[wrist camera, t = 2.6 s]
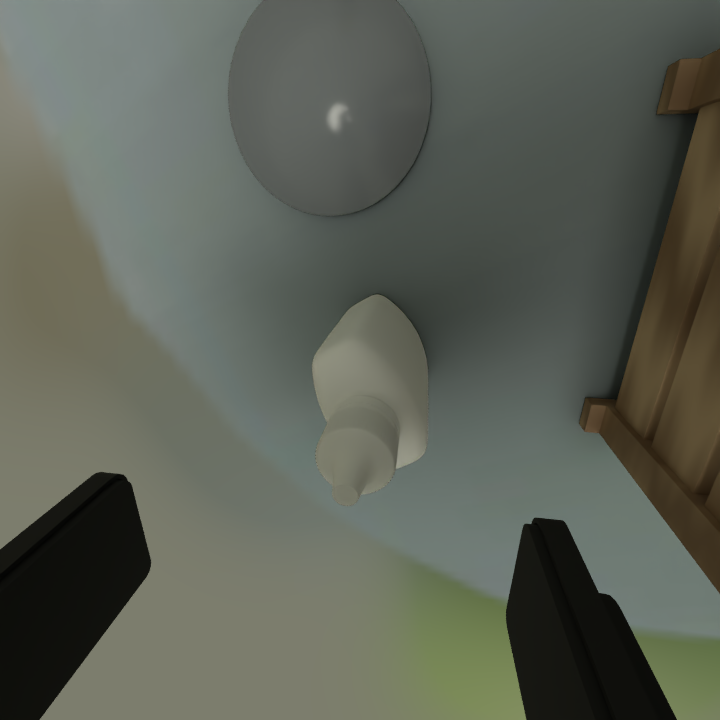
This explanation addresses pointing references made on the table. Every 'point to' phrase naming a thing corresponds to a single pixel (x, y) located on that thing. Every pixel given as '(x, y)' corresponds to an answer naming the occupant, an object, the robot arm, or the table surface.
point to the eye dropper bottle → (370, 398)
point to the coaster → (329, 101)
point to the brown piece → (679, 341)
